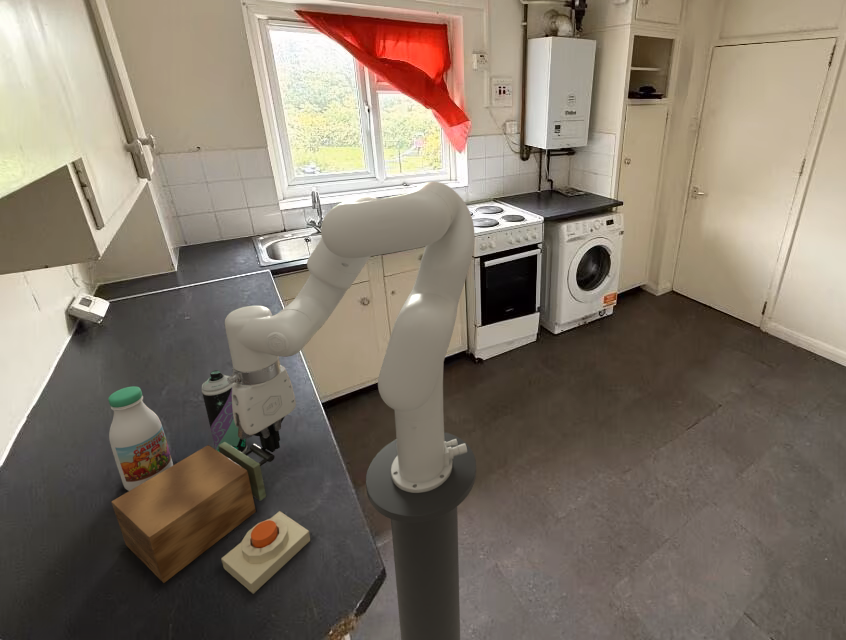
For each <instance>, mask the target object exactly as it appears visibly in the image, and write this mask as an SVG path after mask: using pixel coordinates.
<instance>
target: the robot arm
mask: <svg viewBox="0 0 846 640" xmlns="http://www.w3.org/2000/svg"><path fill="white" fill-rule="evenodd" d="M320 234H321V235H320V236H321V239H320V240H319V242H318V243H317V245H316V246H315V248H314V249H313V251H312V252H311V254H310V255H309V256H308V259H307V261H306V266H307V270H308V272H309V273H310V274H309V277H308V278H307V280H306V282H305V283H304V285H303V286H302V288H301V289H300V290H299V292H298V293H297V295H296V297H294V299H293V300H292V301H291V302H290V303H288V304H287V305H286V306H285V307H284V308H283V309H281V310H280V311H279V312H278V313H276V314H274V315H273V314H272V311H271V310H270V309H269V308H268V307H266V306H264V305H247V306H242V307H239V308H237V309H234V310H232V311H230V312H229V313H228V314H227V315H226V317H225V319H224V327H225V333H226V339H227V343H228V348H229V353H230V359H231V363H232V368H231V369H232V374H231V375H229V376H230V377H228V378H227V381H228V383H229V384H232V383H233V387H232V409H233V417H234V422H235V425H236V427H237V428H238V437H239V438H240V439H242V440H244V439H246V440H247V439H249V438H252V437H259V441H260V447H261V448H263V449H265V450H266V451H268V452H270V453H275V451H276V450H279V449H280V448H281V446H280V441H281V436H280V430H281V428H282V423H283V421H284V419H285V417H286V416H288V415H289V414H291V413H292V412H293V411H294V410H295V409H296V406H297V402H296V396H295V392H294V388H293V384H292V381H291V378H290V376H289V373H288V372H287V369H286V367H285V366H284V365H281V361H280V357H281V358H289V357H292V356H294V355H297V354H298V353H300V352H301V351H302V350H303V349H304V348H305V346H307V344H308V343H309V342H310V341H311V340H312V338H313V337H314V336H315V335H316V334H317V333H318V332H319V330H321V328H323V326H324V325H325V324H326V322H327V321H328V319H329V318H330V316H331V315H332V314H333V312H334V311H335V309H336V308H337V307H338V305H339V303H341V300H342V299H343V298H344V296H345V295H346V294H347V291H348V290H349V289H350V288H351V287H352V285H353V283H354V282H355V281H356V279H357V277H358V276H359V275H360V273H361V272H362V270H363V268H365V266H366V264H367V262H368V261H369V260H370V258H371V257H375V256H381V255H387V254H392V253H393V254H394V253H397V252H403V251H408V250H415V249H420V248H424V251H423V252H422V256H421V258H420V262H419V263H420V264H419V268H418V271H417V275H416V278H415V280H414V284H413V286H412V289H411V291H410V293H409V295H408V296H407V298H406V300H405V302H404V303H403V304H402V307H401V309H400V310H399V312H398V315H396V319H395V321H394V324H393V325H392V329H391V332H390V336H389V340H388V343H387V346H386V350H385V353H384V356H383V360H382V364H381V367H380V371H379V373H378V379H377V388H378V393H379V396H380V398H381V399H382V401H383V403H385V404H386V406H387V407H389V408H390V409H392V410H394V411H393V412H394V423H395V436H396V439H397V452H398V455H397V457H396V458H395V459H394V461H393V463H392V467H391V476H392V480H393V482H394V483H395V485H396V486H397V487H399V488H400V489H402V490H404V491H407V492H411V493H421V492H427V491H430V490H433V489H435V488H437V487H438V486H440V485H442V484H443V483H444V482H445V481H446V480H447V478H448V477H449V476H450V474H451V471H452V459H453V456H456V455H461V454H464V453H467V447H466V444H467V443H466V442H465V443H466V444H465V443H464V444H461V445H458V446H456V445H457V440H456V439H454V440H450V441H448V442H446V441H444V432H445V424H444V422H445V418H444V416H445V415H444V365H445V363H444V362H445V359H446V356H447V353H448V350H449V347H450V343H451V340H452V337H453V333H454V329H455V324H456V321H457V316H458V315H457V313H458V307H459V303H460V299H461V295H462V293H463V289H464V286H465V283H466V279H467V276H468V273H469V270H470V266H471V262H472V258H473V255H474V254H473V253H474V248H475V238H476V237H475V235H476V234H475V225H474V219H473V217H472V214H471V212H470V209H469V207H468V205H467V204H466V202H465V201H464V199H463V198H462V197H461V196H460V194H459V193H457V191H456V190H455V189H453V188H452V187H451V186H449V185H447V184H445V183H442V182H439V181H428V182H423V183H421V184H419V185H417V186H416V187H414V188H412V190H410V191H409V192H408V193H403V194H399V195H393V196H388V197H384V198H379V199H378V198H377V197H374V196H372V195H368V194H367V195H366V194H362V195H361V194H360V195H356V196H352V197H350V198H348V199H346V200H345V201H342V202H340V203H338V204H337V205H335V206H333V207H331V209H329V210H328V212H327V213H326V214H325V216H324V218H323V219H322V222H321V228H320ZM453 446H456V447H453ZM451 447H453V448H451Z"/></svg>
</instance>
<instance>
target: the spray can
mask: <svg viewBox="0 0 846 640" xmlns="http://www.w3.org/2000/svg"><path fill="white" fill-rule="evenodd" d="M209 375H210V376H209V377H208V378H207V380H206V381H204V382H203V383H202V384H201V394H202V397H203V402H204V406H205V411H206V414H207V418H208V423H209V427H210V432H211V436H212V441H213V444H214V449H215V450H217V451H218V452H220V450H219V445H220V444H222V443H223V442H226V443H227V444H229V445H231V446H232V447H234V448H235V449H237V450H239V451H240V452H242V453H244V452H246V451H247V450H248V444H247V438H246V439H244V440H242V439H240V438H239V437H238V428H237V427H236V425H235V422H234V417H233V409H232V387H233V383H232V384H229V383H228V381H227V378H228V377H230V376H231V375H228V374H226V375H225V374H223V373H222V372H221V371H220V370H218V369H217V370H212V371H211V372H210V373H209Z"/></svg>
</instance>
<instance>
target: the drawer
mask: <svg viewBox="0 0 846 640" xmlns="http://www.w3.org/2000/svg"><path fill="white" fill-rule="evenodd" d="M219 450H220V453H221V454H223V455H224V456H226V457H227V458H229V459H230V460H232V461H233V462H235V463H237V464H238V465H240V466H241V467H243V468H244V469H246V470H247V472H248V476H249V481H250V486H251V491H252V495H253V498H254V499H256V500H258V501H260V502H261V501H263V500H264V499H265V498H266V497H267V494H266V493H267V492H266V488H265V483H264V480H263V479H264V478H263V473H262V468H261V467H262V466H264V465H265V464H266V463H272V462H273V461H274V460H275V454H274V453H272V452H270V451H269V450H267V449H266V450H265V449H263V448H262V446H261V445H258V444H256V443H253V444H251V445H250V447H249V449H247V450H246V452H244V453H242V452H240V451H239V450H237V449H235V448H234V447H232V446H231V445H229V444H227V443H226V442H223V443H222V444H220V445H219ZM252 453H253V454H254V455H257V456H258V457H260V458H261V459H262V460H261V461H259V462H257V461H255V459H253V458H251V457H250V456H248V455H250V454H252Z"/></svg>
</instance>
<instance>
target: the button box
mask: <svg viewBox="0 0 846 640" xmlns="http://www.w3.org/2000/svg"><path fill="white" fill-rule="evenodd" d="M267 520H271V521H274V522H275V523H276V527H277V532H278V534H277V537H276V539H275V540H274V541H273V542H272V543H271V544H270V545H268V546H266V547H263V548H256V547H254V546H253V543H252V539H251V532H252V530H253V529H254V528H255V527H256V526H257V525H258V524H259V523H261V522H264V521H267ZM309 542H311V535H310V530H308V529H307V528H305V527H304V526H302V525H301V524H299V523H298V522H297V521H295V520H293V519H292V518H291V517H289V516H288V515H286V514H284V513H283V512H282V511H280V510H279V511H278V512H277V513H276V514H274V515H273V516H271V517H270V518H267V519H266V520H263V521H260V522H258V523H257V524H255V525H254V526H252V528H250V529H249V530H248V531H247V532H246V533H245V535H244V537H243V539H242V540H241V541H240V543H238V544H237V545H235V547H233V548H232V549H231V550H230V551H228V552H227V553H226V554H225V555H224V556H222V557H221V564H222V567H223V569H224V570H225V571H226V572H227V573H228V574H230V575H231V577H233V578H234V579H235V580H237V581H238V583H240V584H241V585H242V586H244V588H246V589H247V591H248V592H250V593H251V594H252V595H254V594H255V593H256V592H258V590H260V588H261V587H263V586H264V585H265V584H266V583H267V582H268V581H269V580H270V579H271V578H272V577H273V576H274V575H275V574H277V573H278V572H279V571H280V570H281V569H283V567H284V566H285V565H286V564H287V563H288V562H289V561H290V560H291V559H292V558H293V557H295V556H296V555H297V554H298V553H299V552H300V551H301V550H302V549H303V548H304V547H305V546H307V544H309Z"/></svg>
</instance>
